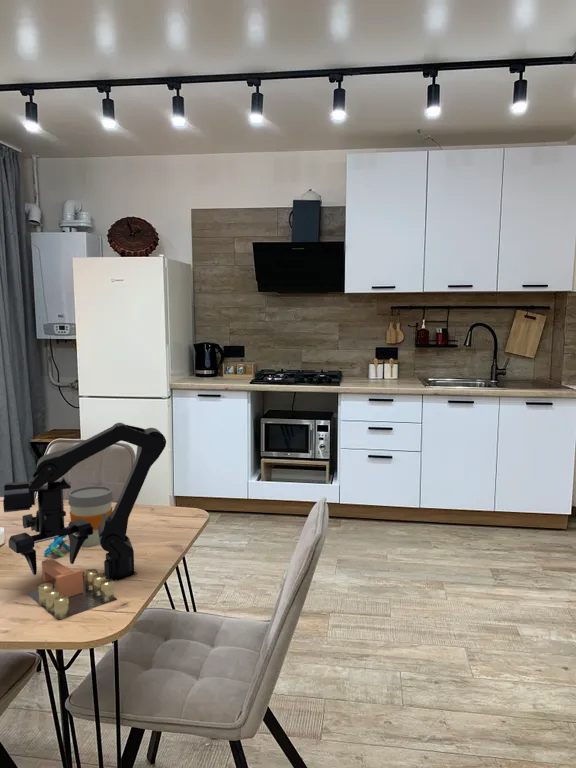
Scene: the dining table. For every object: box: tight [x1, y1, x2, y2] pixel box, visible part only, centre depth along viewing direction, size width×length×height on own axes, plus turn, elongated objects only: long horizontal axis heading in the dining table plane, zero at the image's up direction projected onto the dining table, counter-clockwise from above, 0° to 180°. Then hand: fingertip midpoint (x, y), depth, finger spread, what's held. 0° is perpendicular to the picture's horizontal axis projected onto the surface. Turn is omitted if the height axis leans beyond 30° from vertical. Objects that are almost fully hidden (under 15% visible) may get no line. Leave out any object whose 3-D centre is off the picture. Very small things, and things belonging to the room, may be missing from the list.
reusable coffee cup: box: [67, 485, 114, 548], centre depth 174 cm, size 13×13×15 cm
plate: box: [25, 568, 118, 622], centre depth 138 cm, size 14×18×5 cm
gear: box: [43, 526, 70, 558], centre depth 165 cm, size 11×6×10 cm
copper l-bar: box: [41, 558, 84, 597], centre depth 143 cm, size 6×14×5 cm, turn 44°
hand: (53, 569), depth 144 cm, fingers open, 9 cm apart
